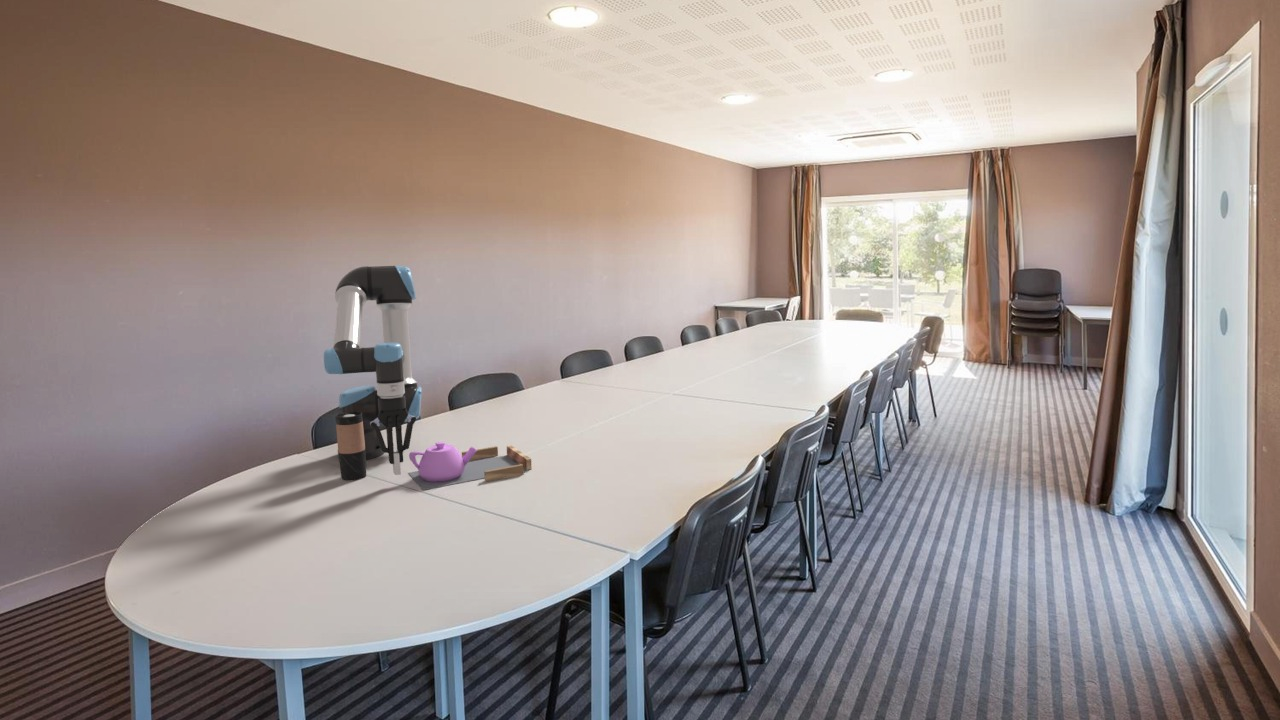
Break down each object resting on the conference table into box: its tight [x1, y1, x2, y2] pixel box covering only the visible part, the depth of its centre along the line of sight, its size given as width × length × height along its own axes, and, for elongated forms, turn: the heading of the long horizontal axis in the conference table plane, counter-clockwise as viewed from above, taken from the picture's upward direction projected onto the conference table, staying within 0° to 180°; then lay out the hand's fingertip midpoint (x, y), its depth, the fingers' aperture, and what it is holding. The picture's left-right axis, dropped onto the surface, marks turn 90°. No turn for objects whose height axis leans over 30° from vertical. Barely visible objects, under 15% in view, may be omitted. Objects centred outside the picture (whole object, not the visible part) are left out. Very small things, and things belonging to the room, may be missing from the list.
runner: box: [408, 454, 531, 491], centre depth 204 cm, size 18×34×1 cm, turn 122°
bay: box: [461, 444, 533, 483], centre depth 209 cm, size 24×16×4 cm, turn 32°
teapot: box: [408, 441, 477, 482], centre depth 199 cm, size 14×20×11 cm
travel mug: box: [335, 412, 367, 482], centre depth 198 cm, size 8×8×20 cm
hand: (397, 473), depth 192 cm, fingers closed
